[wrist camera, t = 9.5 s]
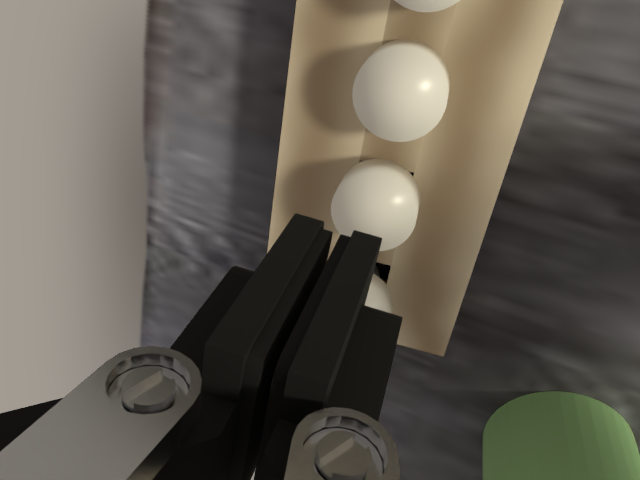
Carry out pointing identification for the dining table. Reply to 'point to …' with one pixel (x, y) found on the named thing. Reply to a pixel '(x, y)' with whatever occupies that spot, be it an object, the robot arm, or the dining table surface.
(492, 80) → the board
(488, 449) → the mug
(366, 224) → the white egg
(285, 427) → the robot arm
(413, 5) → the off-white oval piece
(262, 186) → the dining table surface
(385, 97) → the white egg
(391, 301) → the egg
